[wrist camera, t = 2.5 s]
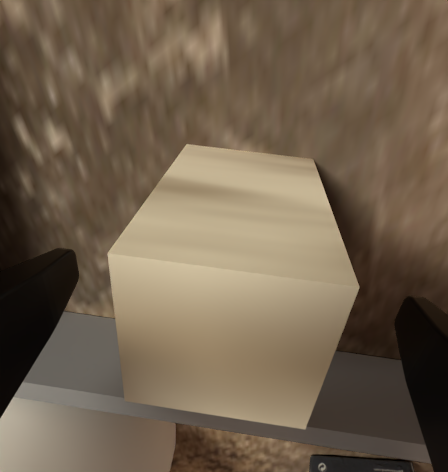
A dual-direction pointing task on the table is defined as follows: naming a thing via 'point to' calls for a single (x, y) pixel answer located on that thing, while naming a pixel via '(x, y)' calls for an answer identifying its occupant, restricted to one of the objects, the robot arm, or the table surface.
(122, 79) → the table surface
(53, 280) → the robot arm
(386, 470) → the small box
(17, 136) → the table surface
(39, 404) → the cylinder
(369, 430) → the grey l-shaped bracket
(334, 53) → the table surface
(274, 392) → the cream block
